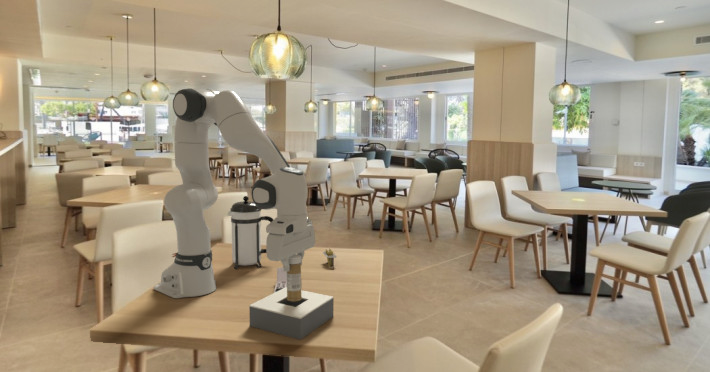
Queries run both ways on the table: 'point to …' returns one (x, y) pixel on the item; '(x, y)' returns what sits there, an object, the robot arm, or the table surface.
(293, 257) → the sprinkles bottle
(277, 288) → the mobile phone
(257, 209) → the coffee press
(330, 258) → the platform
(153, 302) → the table surface
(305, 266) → the table surface
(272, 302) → the socket block
